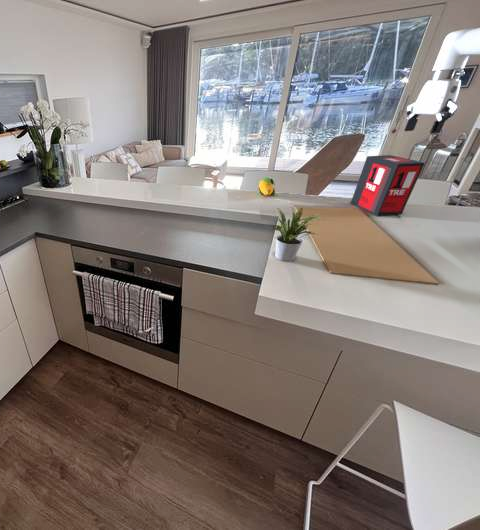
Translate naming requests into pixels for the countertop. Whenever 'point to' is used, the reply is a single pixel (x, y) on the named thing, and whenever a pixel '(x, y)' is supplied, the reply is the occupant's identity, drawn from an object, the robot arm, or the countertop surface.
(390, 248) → the mat
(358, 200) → the cleaning product box
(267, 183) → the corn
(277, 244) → the house plant
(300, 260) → the countertop surface
